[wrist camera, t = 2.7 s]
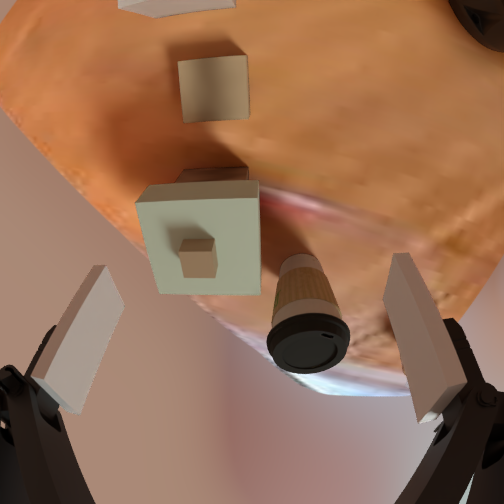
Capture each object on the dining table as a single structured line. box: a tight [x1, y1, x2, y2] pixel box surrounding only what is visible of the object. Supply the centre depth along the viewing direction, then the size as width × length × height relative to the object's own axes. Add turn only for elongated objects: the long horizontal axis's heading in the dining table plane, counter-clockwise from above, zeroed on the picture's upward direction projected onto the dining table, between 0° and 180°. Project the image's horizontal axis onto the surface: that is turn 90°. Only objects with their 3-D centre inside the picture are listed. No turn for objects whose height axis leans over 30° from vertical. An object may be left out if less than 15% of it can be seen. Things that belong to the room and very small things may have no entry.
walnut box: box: [175, 167, 249, 183], centre depth 36 cm, size 8×8×8 cm
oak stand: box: [178, 55, 250, 123], centre depth 29 cm, size 7×7×3 cm
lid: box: [135, 180, 261, 295], centre depth 30 cm, size 11×11×6 cm
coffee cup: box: [267, 254, 350, 374], centre depth 39 cm, size 10×10×15 cm
